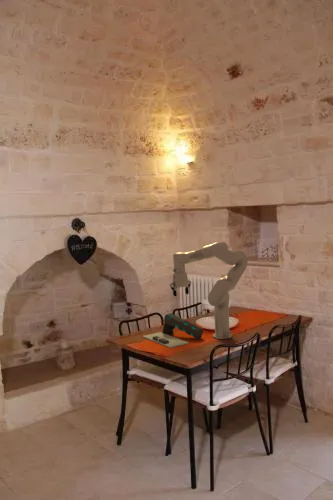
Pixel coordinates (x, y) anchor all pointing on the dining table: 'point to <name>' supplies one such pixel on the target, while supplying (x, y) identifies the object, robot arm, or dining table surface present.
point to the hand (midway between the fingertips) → (181, 295)
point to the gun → (181, 326)
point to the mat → (172, 340)
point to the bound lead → (160, 340)
